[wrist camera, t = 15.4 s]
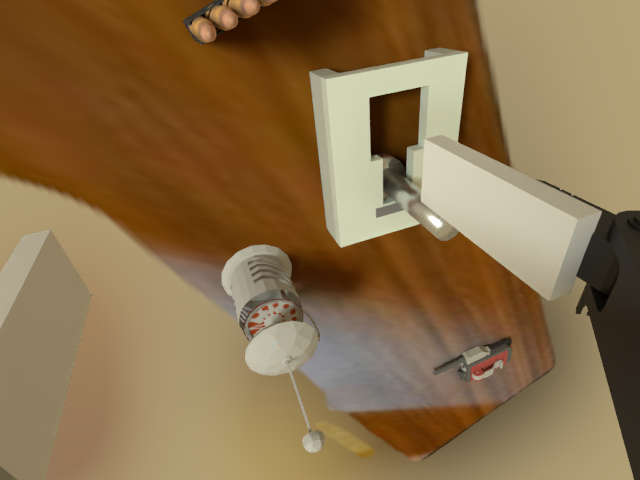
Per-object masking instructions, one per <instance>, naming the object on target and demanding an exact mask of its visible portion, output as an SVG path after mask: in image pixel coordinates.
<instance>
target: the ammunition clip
mask: <svg viewBox="0 0 640 480" xmlns="http://www.w3.org/2000/svg"><path fill="white" fill-rule="evenodd" d="M276 1H278V0H215V1H213V2H212V3H210V4H209V5H207V6H205V7H204V8H202V9H201V10H199V11H197V12H196V13H194V14H193V15H191V16H189V17H188V18H186V19H185V20H183V22H184V24H185V26H186V27H187V29H188V30H189V32H190V34H191V35H192V37H193V38H194V40H195V41H197V42H199V43H200V44H204V43H209V42H212V41H214V40H215V38H216V36H217V35H219V34H220V33H222V32H223V31H227V30H230V29H233V28H235V27H236V26H237V24H238V22H239V21H241V20H243V19H244V18H250V17H251V16H253V15H255V14H257V13H258V12H259V10H260V8H262V7H263V6H269V5H270V4H272V3H274V2H276ZM238 17H240V18H239V19H238ZM217 29H221V30H219V31H218V32H216V30H217Z"/></svg>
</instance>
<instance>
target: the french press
mask: <svg viewBox="0 0 640 480" xmlns="http://www.w3.org/2000/svg"><path fill="white" fill-rule="evenodd" d="M291 271H292V264H291V262H290V260H289V257H288V255H287V254H285V253H284V252H283V251H282V250H280V249H279V248H277V247H273V246H269V245H256V246H250V247H248V248H245V249H243V250H241V251H239V252H237V253H236V254H235V255H234V256H233V257H232V258H230V259H229V260H228V261H227V263H226V265H225V267H224V269H223V271H222V285H223V287H224V289H225V290H226V292H227V294H228V295H230V296H231V297H233V300H234V299H235V301H234V303H235V308H236V314H237V318H238V322H239V325H240V327H241V328H242V330H243V332H244V334H245V336H246V337H247V339H248V340H249V341H250V343H249V345H248V347H247V349H246V354H245V355H246V356H245V362H246V363H247V365H248V366H249V368H250V369H251V370H253V371H255V372H257V373H259V374H261V375H279V374H283V373H288V372H289V373H290V376H291V379H292V382H293V385H294V388H295V391H296V394H297V397H298V400H299V403H300V406H301V409H302V412H303V415H304V418H305V421H306V424H307V427H308V430H309V433H308V434H307V435H306V436H304V438H303V445H304V448H305V449H306V450H307V451H308V452H318V451H319V450H321V449H322V447H323V445H324V435H323V433H322V432H321V431H311V428H310V425H309V422H308V419H307V416H306V413H305V410H304V408H303V404H302V402H301V399H300V395H299V392H298V389H297V387H296V384H295V381H294V378H293V375H292V372H291V371H294V370H296V369H297V368H299V367H301V366H302V365H303V364H304V363H305V362H307V361H308V360H309V359H310V358H311V357H312V355H313V353H314V352H315V350H316V349H317V343H318V342H319V341H320V333H319V330H318V328H317V326H316V324H315V322H314V321H313V319H312V318H311V317H310V315H309V314H308V313H307V312H306V311H305V310H304V309H303V308H302V304H301V301H300V299H299V296H298V294H297V293H296V290H295V288H294V286H293V283H292V281H291V279H290V277H291ZM281 290H284V291H285V294H286V296H287V298H288V300H286V299H283V298H282V296H281V293H280V291H281ZM243 307H246V308H249V309H253V310H252V311H248V310H245V309H244V308H243ZM241 310H243V311H244V312H245V313H247V314H248V316H246V315H245V314H244V313H243V312H242V311H241ZM302 311H303V312H304V313H305V314H306V315H307V316H308V317H309V318H310V319H311V321H312V323H313V324H314V326H315V328H316V330H317V332H318V336H317V333H316V331H315V329H314V328H312V327H311V326H309V325H308V324H307V323H303V312H302ZM240 313H241V314H242V315H243V316H244V317H245V318H246V320H245V319H244V318H243V317H242V316H241V315H240ZM240 318H241V319H242V320H243V321H244V323H243V322H242V321H241V319H240Z"/></svg>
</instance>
